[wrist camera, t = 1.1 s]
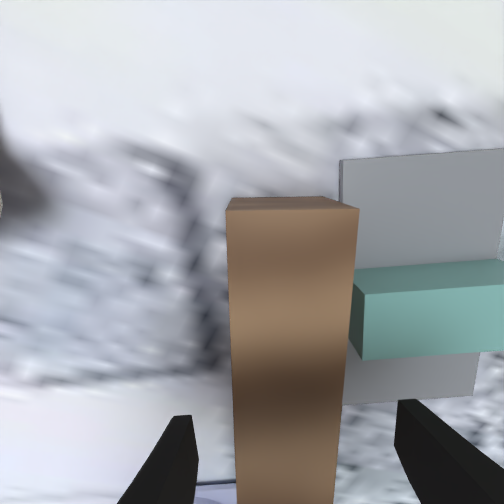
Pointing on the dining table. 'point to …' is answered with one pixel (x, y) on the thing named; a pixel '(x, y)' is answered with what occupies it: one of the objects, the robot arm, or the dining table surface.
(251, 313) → the walnut bar
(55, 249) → the dining table surface
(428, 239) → the board
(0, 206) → the rock
